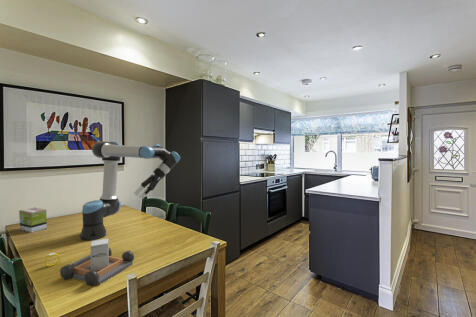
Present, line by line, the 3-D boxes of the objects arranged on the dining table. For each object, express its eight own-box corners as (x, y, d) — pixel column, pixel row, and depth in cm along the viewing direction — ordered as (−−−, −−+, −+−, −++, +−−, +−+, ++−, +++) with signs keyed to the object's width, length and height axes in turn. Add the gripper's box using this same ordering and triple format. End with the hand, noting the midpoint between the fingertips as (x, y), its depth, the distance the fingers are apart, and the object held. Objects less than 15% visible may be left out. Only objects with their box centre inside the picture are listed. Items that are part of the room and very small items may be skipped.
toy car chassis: (59, 278, 105) (59, 265, 105) (102, 256, 126) (102, 246, 126) (95, 287, 98) (95, 273, 98) (134, 263, 119) (134, 251, 119)
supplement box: (90, 272, 107) (89, 245, 106) (91, 265, 113) (91, 240, 113) (108, 269, 110) (108, 242, 110) (109, 262, 117) (108, 237, 116)
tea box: (19, 230, 168) (18, 210, 167) (35, 226, 177) (35, 207, 177) (31, 233, 162) (30, 212, 162) (47, 228, 172) (47, 208, 171)
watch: (45, 268, 114) (43, 257, 113) (45, 266, 116) (43, 255, 115) (60, 263, 118) (59, 252, 117) (59, 262, 120) (58, 251, 119)
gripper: (172, 176, 144) (147, 203, 136) (159, 173, 164) (137, 196, 156) (163, 168, 141) (138, 195, 133) (151, 166, 161) (129, 189, 153)
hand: (137, 196), depth 144 cm, fingers open, 13 cm apart
